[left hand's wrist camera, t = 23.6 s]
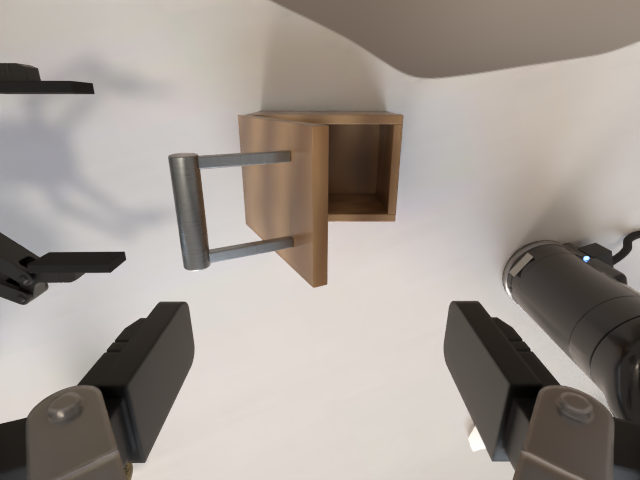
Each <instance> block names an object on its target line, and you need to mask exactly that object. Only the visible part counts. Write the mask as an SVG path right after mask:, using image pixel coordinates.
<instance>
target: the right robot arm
mask: <svg viewBox="0 0 640 480" xmlns="http://www.w3.org/2000/svg"><path fill="white" fill-rule="evenodd" d="M0 94H94V88H93V83H85V82H75V81H41V79H40V75H39V71H38V68H35V67H33V66H30V65H24V64H17V63H0ZM125 260H126V257H125V252H49V253H47V254H45V255H44V256H42V257H38V256H37V255H35V254H33V253H32V252H30V251H29V250H27V249H26V248H24V247H22V246H21V245H19V244H18V243H16V242H14V241H13V240H11V239H10V238H8V237H7V236H5V235H3V234H2V233H0V297H2V298H5V299H8V300H10V301H13V302H16V303H18V304H22V305H25V304H27V303H29V302H30V301H32V300H33V299H35V298H36V297H38V296H39V295H41V294H42V293H43V292H45V291H46V290H47V289H48V284H47V283H58V282H59V283H62V282H73V281H75V280H77V279H78V278H79V277H81V276H82V275H83V274H85V273H111V272H112V271H113V270H114V269H115V268H117V267H118V266H119V265H120V264H122V263H123V262H124V261H125Z"/></svg>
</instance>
